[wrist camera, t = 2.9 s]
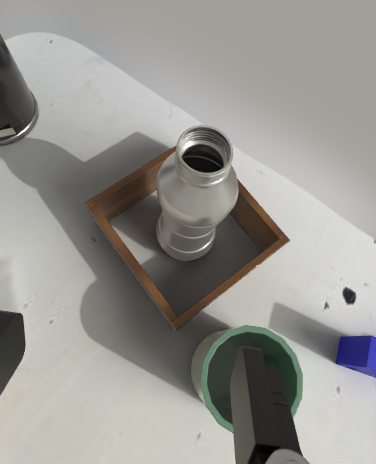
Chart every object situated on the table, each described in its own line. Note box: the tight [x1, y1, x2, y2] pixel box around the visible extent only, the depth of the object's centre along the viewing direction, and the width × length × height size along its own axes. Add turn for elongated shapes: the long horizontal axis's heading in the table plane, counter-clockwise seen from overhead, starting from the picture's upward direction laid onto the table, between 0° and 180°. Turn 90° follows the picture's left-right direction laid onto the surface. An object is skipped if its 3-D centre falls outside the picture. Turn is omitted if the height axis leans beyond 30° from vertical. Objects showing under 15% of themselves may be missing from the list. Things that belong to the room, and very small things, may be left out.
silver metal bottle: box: [156, 125, 238, 261], centre depth 31 cm, size 6×7×20 cm
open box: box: [85, 146, 290, 331], centre depth 38 cm, size 16×15×6 cm
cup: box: [191, 325, 303, 434], centre depth 32 cm, size 8×8×10 cm
